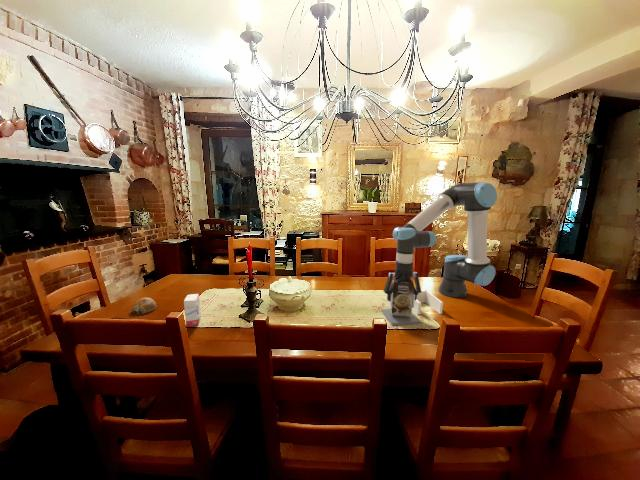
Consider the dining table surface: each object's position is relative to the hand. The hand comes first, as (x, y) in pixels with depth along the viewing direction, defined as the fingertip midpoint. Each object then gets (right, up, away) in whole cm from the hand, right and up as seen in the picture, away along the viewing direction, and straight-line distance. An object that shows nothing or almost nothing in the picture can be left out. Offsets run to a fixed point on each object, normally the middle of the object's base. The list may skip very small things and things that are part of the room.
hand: (401, 306), depth 125 cm
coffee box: (0, -3, +1) cm, 4 cm away
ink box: (-96, -6, -6) cm, 96 cm away
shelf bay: (+15, -3, +12) cm, 20 cm away
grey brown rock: (-126, -3, +5) cm, 126 cm away
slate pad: (0, -5, +1) cm, 5 cm away
